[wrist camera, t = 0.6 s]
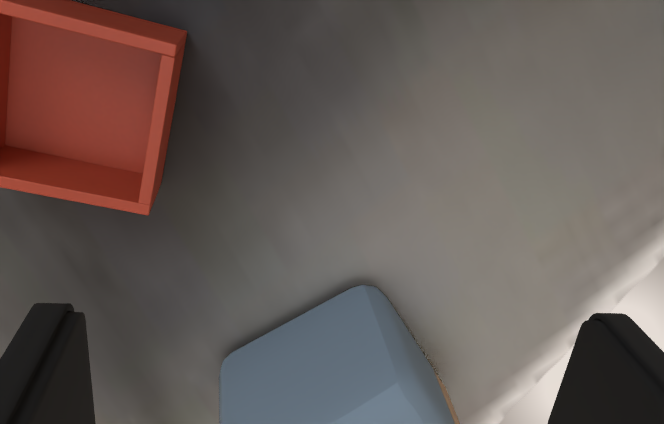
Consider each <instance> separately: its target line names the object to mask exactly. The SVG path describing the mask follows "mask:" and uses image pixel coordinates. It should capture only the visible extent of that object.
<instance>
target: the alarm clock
mask: <svg viewBox="0 0 664 424" xmlns="http://www.w3.org/2000/svg"><path fill="white" fill-rule="evenodd" d="M219 423H220V424H460V423H459V421H458V418H457V415H456V413H455V410H454V408H453V405H452V403H451V400H450V398H449V395H448V393H447V390H446V388H445V386H444V385H443V383H442V382H441V380H440V379H439V377H438V375H437V374H436V372H435V371H434V370H433V368H432V366H431V365H430V363H429V362H428V360H427V359H426V357H425V355H424V354H423V352H422V351H421V349H420V348H419V346H418V345H417V343H416V342H415V340H414V338H413V337H412V335H411V334H410V332H409V331H408V329H407V328H406V326H405V325H404V323H403V321H402V320H401V318H400V317H399V315H398V314H397V312H396V311H395V309H394V308H393V306H392V304H391V303H390V301H389V300H388V298H387V297H386V296H385V295H384V294H383V293H382V292H381V291H380V290H379V289H378V288H376V287H375V286H368V285H360V286H356V287H353V288H350V289H348V290H346V291H345V292H343V293H341V294H339V295H337V296H335V297H334V298H332V299H330V300H328V301H326V302H324V303H322V304H321V305H319V306H317V307H315V308H313V309H311V310H310V311H308V312H306V313H304V314H302V315H300V316H298V317H297V318H295V319H293V320H291V321H289V322H287V323H285V324H284V325H282V326H280V327H278V328H276V329H274V330H273V331H271V332H269V333H267V334H265V335H263V336H261V337H260V338H258V339H256V340H254V341H252V342H250V343H249V344H247V345H245V346H243V347H241V348H239V349H237V350H236V351H234V352H232V353H231V354H230V355H229V356H227V357H226V358H225V359H224V360H223V363H222V366H221V370H220V375H219Z"/></svg>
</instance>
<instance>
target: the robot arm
mask: <svg viewBox="0 0 664 424" xmlns="http://www.w3.org/2000/svg"><path fill="white" fill-rule="evenodd" d="M0 424H95V414H94V404H93V394H92V383H91V373H90V363H89V352H88V342H87V331H86V321H85V315H84V313H82V312H74V308H73V306H72V305H71V304H58V303H36V304H34V305H33V307H32V308H31V310H30V311H29V313H28V315H27V316H26V318H25V319H24V321H23V323H22V324H21V326H20V328H19V329H18V331H17V333H16V334H15V336H14V338H13V339H12V341H11V343H10V344H9V346H8V347H7V349H6V351H5V352H4V354H3V356H2V357H1V359H0ZM548 424H664V352H663V351H662V350H661V349H660V348H659V347H658V346H657V345H656V344H655V343H654V342H653V341H652V340H651V339H650V338H649V337H648V336H647V335H646V334H645V333H644V332H643V331H642V329H641V328H639V326H638V325H637V324H636V323H635V322H634V321H633V320H632V319H631V318H630V317H628V316H627V315H625V314H615V313H614V314H613V313H596V314H593V315H592V316H591V317H590V318H589V320H587V321H585V322H584V323H582V325H581V328H580V330H579V333H578V336H577V339H576V342H575V345H574V348H573V351H572V354H571V357H570V359H569V363H568V365H567V368H566V371H565V374H564V377H563V380H562V383H561V386H560V389H559V392H558V394H557V397H556V400H555V403H554V406H553V409H552V412H551V415H550V418H549V420H548Z"/></svg>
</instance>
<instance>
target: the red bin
mask: <svg viewBox="0 0 664 424" xmlns="http://www.w3.org/2000/svg"><path fill="white" fill-rule="evenodd" d="M186 36H187V31H185V30H181V29H177V28H174V27H170V26H166V25H162V24H158V23H155V22H151V21H147V20H143V19H139V18H136V17H132V16H128V15H124V14H120V13H117V12H113V11H109V10H105V9H101V8H98V7H94V6H90V5H86V4H82V3H79V2H75V1H71V0H0V187H2V188H7V189H13V190H18V191H23V192H28V193H34V194H39V195H44V196H49V197H54V198H60V199H65V200H70V201H75V202H81V203H86V204H91V205H96V206H101V207H107V208H112V209H117V210H122V211H128V212H133V213H138V214H143V215H149V213H150V211H151V208H152V205H153V203H154V200H155V198H156V195H157V193H158V190H159V188H160V185H161V181H162V175H163V169H164V164H165V158H166V152H167V146H168V141H169V135H170V129H171V123H172V117H173V112H174V106H175V100H176V94H177V88H178V83H179V77H180V71H181V65H182V59H183V54H184V48H185V42H186Z"/></svg>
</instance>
